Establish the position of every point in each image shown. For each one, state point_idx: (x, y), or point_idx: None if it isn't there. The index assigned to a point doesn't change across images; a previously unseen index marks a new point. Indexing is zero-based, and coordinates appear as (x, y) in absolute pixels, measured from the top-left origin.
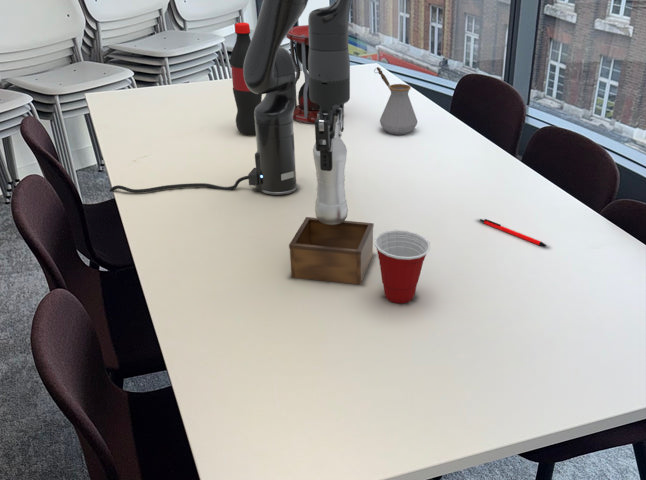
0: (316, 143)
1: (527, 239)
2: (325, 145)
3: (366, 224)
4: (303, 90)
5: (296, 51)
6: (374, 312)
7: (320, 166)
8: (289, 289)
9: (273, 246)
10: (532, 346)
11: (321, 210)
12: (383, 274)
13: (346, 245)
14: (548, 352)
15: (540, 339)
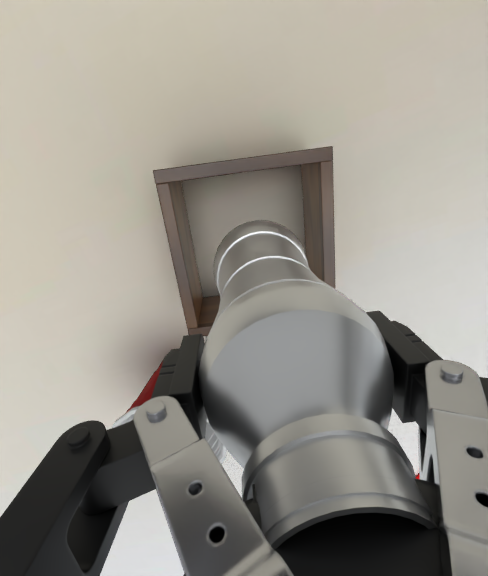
0: (27, 486)
1: (417, 477)
2: (87, 507)
3: None
4: None
5: None
6: (121, 351)
7: (183, 340)
8: (124, 186)
9: (297, 59)
10: (136, 521)
11: (216, 259)
12: (147, 384)
13: (309, 246)
14: (131, 534)
15: (155, 524)
